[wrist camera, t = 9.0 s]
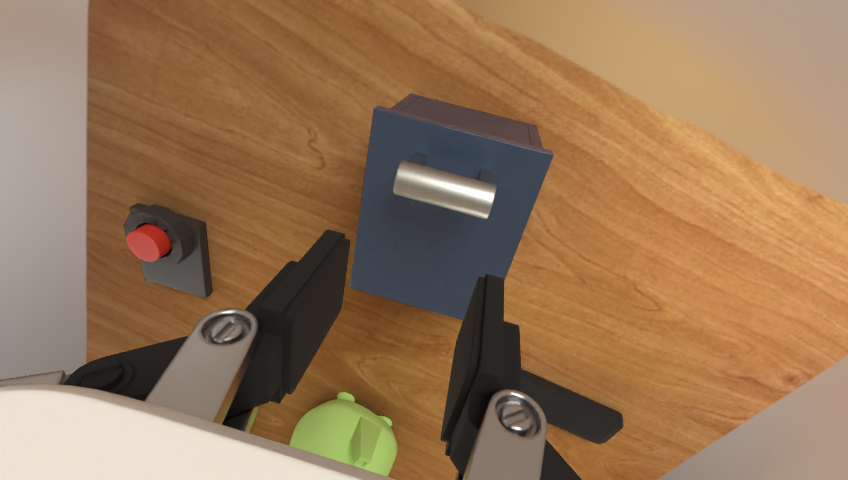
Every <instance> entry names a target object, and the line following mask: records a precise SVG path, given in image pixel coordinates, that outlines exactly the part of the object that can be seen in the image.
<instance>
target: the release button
mask: <svg viewBox="0 0 848 480" xmlns="http://www.w3.org/2000/svg"><path fill="white" fill-rule="evenodd" d="M127 243H128V246H129V248H130V249H131V251H132V252H133V253H134V254H135V255H136V256H137V257H139V258H140V259H142V260H145V261H149V262H152V261H156V260H158V259H159V258H161V257H162V256H163V255H165V254H166V253H168V252H169V251H170V249H171V241H170V239H169V238H168V236H167V235H166V233H165V232H164V231H163V230H161V229H160V228H159V227H157V226H155V225H152V224H145V225H143V226H141V227H139V228H138V229H136V230H134V231H132V232H130V233H129V234H128V236H127Z"/></svg>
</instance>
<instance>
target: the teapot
mask: <svg viewBox="0 0 848 480" xmlns="http://www.w3.org/2000/svg"><path fill="white" fill-rule="evenodd" d="M391 426H392V422H391V420H390V419H389V418H387V417H385V416H378V415H376V414H375V413H373V412H372V411H370V410H368V409H367V408H365V407H363V406H361V405H359V404H357V403H355V399H354V397H353V396H352V395H351V394H349V393H346V392H340V393H339V394H338V395H337V399H334V400H330V401H327V402H325V403H323V404H320V405H318V406H317V407H315V408H313V409H311V410H310V411H308V412H307V413H306V414H305V415H304V416H303V417H302V418H301V419H300V420H299V422H298V424H297V425H296V428H295V430H294V432H293V435H292V438H291V441H290V444H289V446H292V447H295V448H298V449H301V450H305V451H308V452H311V453H314V454H317V455H320V456H324V457H327V458H330V459H333V460H336V461H339V462H343V463H346V464H349V465H352V466H355V467H358V468H362V469H365V470H368V471H371V472H374V473H377V474H381V475H384V476H387V477H388V475H389V473H390V470H391V468H392V466H393V463H394V461H395V457H396V454H397V442H396V439H395V436H394V433H393V431H392V429H391Z"/></svg>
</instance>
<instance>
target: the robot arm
mask: <svg viewBox="0 0 848 480" xmlns="http://www.w3.org/2000/svg"><path fill="white" fill-rule="evenodd" d="M349 247H350V240H348V239H345V234H343V233H340V232H336V231H332V230H329V229H328V230H326V231H325V232H324V233H323V235H322V236H321V237H320V238H319V239H318V240H317V242H316V243H315V244H314V245H313V246H312V247H311V248H310V250H309V251H308V252H307V253H306V254H305V255H304V256H303V258H302V259H301V260H300V261H299V262H295V261H290V262H289V263H287V264H286V265H285V266H284V268H283V269H282V270H281V271H280V272H279V273H278V274H277V275H276V276H275V277H274V278H273V280H272V281H271V282H270V283H269V284H268V285H267V286H266V287H265V288H264V289H263V291H262V292H261V293H260V294H259V295H258V296H257V297H256V298H255V299H254V300H253V301H252V303H251V304H250V305H249V306H248V307H247V308H246V309H245V310H242V309H238V308H227V309H220V310H217V311H214V312H211V313H209V314H208V315H206V316H205V317H203V318H202V319H201V320H200V321H199V322H198V323H197V324H196V326H195V327H194V329H193V330H192V332H191V333H190V335H189V336H186V337H182V338H178V339H174V340H170V341H166V342H162V343H158V344H154V345H150V346H146V347H142V348H138V349H134V350H130V351H126V352H122V353H118V354H114V355H110V356H106V357H102V358H100V359H97V360H94V361H91V362H89V363H87V364H85V365H84V366H82V367H80V368H78V369H77V370H76V371H75V372H74V373H73V374H70V375H65V372H64V371H57V372H50V373H43V374H36V375H30V376H23V377H17V378H10V379H3V380H0V480H396V479H393V478H390V477H387V476H384V475H381V474H377V473H374V472H371V471H368V470H365V469H362V468H358V467H355V466H352V465H349V464H346V463H343V462H339V461H336V460H333V459H330V458H327V457H324V456H320V455H317V454H314V453H311V452H308V451H305V450H301V449H298V448H295V447H292V446H289V445H285V444H282V443H279V442H276V441H273V440H269V439H266V438H263V437H260V436H257V435H253V434H250V430H251V427H252V425H253V422H254V420H255V417H256V414H257V412H258V408H259V405H262V404H265V403H268V402H269V401H272V402H276V403H279V404H280V402H281V401H282V399H283V397H284V396H285V394H286V393H288V394H292V393H293V392H294V390H295V388H296V387H297V385H298V383H299V381H300V380H301V378H302V376H303V375H304V373H305V371H306V369H307V368H308V366H309V364H310V362H311V361H312V359H313V357H314V356H315V354H316V352H317V350H318V349H319V347H320V345H321V343H322V342H323V340H324V338H325V337H326V335H327V333H328V331H329V330H330V328H331V326H332V325H333V323H334V321H335V319H336V318H337V316H338V314H339V312H340V310H341V307H342V302H343V294H344V287H345V279H346V271H347V263H348V255H349ZM503 320H504V278H501V277H497V276H493V275H490V274H486V276H485V278H484V277H480V276H479V277H478V280H477V283H476V286H475V288H474V291H473V294H472V297H471V300H470V303H469V306H468V309H467V312H466V315H465V317H464V320H463V323H462V326H461V329H460V332H459V335H458V338H457V341H456V346H455V351H454V358H453V364H452V370H451V376H450V382H449V389H448V395H447V401H446V407H445V413H444V420H443V426H442V432H441V441H445V442H447V445H446V452H445V455H447V456H450V459H451V461H452V462H453V464H454V465H455V467H456V468H457V470H458V472H457V475H456V478H455V480H581V478H580V477H579V476H578V475H577V474H576V473H575V472H574V470H573V469H572V468H571V467H570V466H569V465H568V464H567V462H566V461H565V460H564V459H563V458H562V457H561V456H560V454H559V453H558V452H557V451H556V450H555V449H554V448H553V447H552V445H551V444H550V443H549V442H548V441H547V440H546V434H547V420H546V417H545V414H544V412H543V410H542V409H541V408H540V406H539V405H538V404H537V403H536V402H535V401H534V400H533V399H532V398H531V397H529V396H527V395H526V394H524V393H522V383H521V357H520V331H519V326H518V325H515V324H512V323H508V322H505V321H503Z"/></svg>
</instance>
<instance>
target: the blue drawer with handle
mask: <svg viewBox="0 0 848 480" xmlns="http://www.w3.org/2000/svg"><path fill="white" fill-rule="evenodd" d="M552 158H553V152H552V151H551V150H547V149H543V148H539V147H535V146H531V145H527V144H524V143H520V142H516V141H512V140H508V139H504V138H500V137H497V136H493V135H489V134H485V133H481V132H477V131H473V130H469V129H466V128H462V127H458V126H454V125H450V124H446V123H442V122H438V121H435V120H431V119H427V118H423V117H419V116H415V115H411V114H407V113H404V112H400V111H396V110H392V109H388V108H384V107H380V106H377V107H375V108H374V111H373V118H372V125H371V133H370V140H369V148H368V155H367V162H366V170H365V177H364V185H363V192H362V200H361V207H360V214H359V222H358V229H357V237H356V244H355V251H354V259H353V266H352V274H351V281H350V288H353V289H356V290H360V291H363V292H367V293H370V294H374V295H377V296H381V297H384V298H388V299H391V300H395V301H398V302H401V303H405V304H408V305H412V306H415V307H419V308H422V309H426V310H429V311H433V312H436V313H440V314H443V315H447V316H450V317H454V318H457V319H461V320H464V317H465V315H466V312H467V309H468V306H469V303H470V300H471V297H472V294H473V291H474V288H475V286H476V283H477V280H478V277H479V276H480V277H484V278H485V276H486V274H490V275H493V276H497V277H501V278H504V280H505V278H506V275H507V273H508V270H509V268H510V265H511V262H512V260H513V257H514V255H515V252H516V250H517V247H518V245H519V242H520V239H521V237H522V234H523V232H524V229H525V227H526V224H527V222H528V219H529V216H530V214H531V211H532V209H533V206H534V204H535V201H536V198H537V196H538V193H539V191H540V188H541V186H542V183H543V181H544V178H545V175H546V173H547V170H548V168H549V165H550V163H551V160H552Z"/></svg>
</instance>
